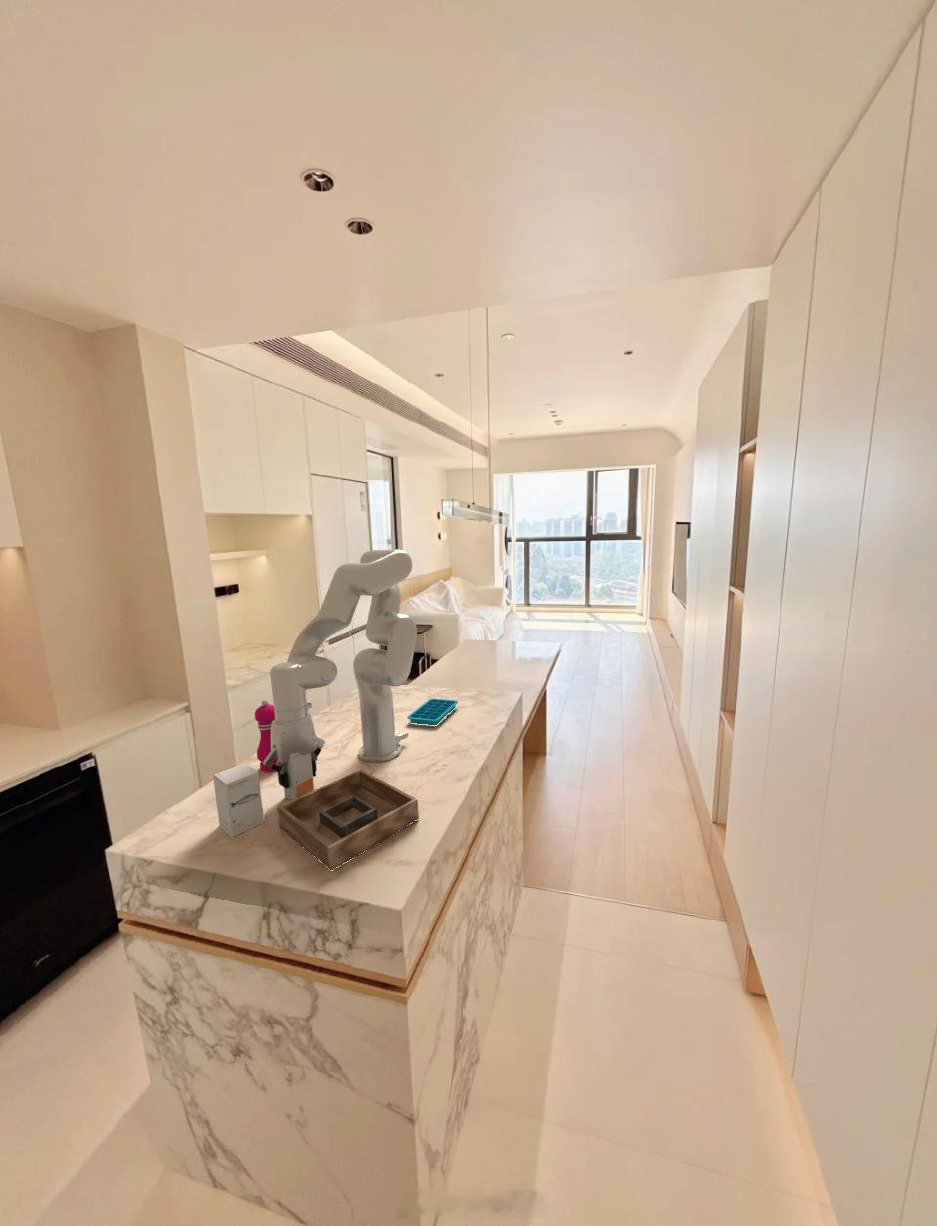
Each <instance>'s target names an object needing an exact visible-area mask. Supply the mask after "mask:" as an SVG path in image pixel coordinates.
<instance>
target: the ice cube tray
mask: <svg viewBox="0 0 937 1226" xmlns="http://www.w3.org/2000/svg"><path fill="white" fill-rule="evenodd" d="M458 703H459V701H458V700H455V699H446V698H445V699H443V698H429V699H428V700H427V701H425V702H424V703H422V705H420V706H419V707H418V708H416V709H415V710H414V711H412V712H411V713H410V714H409V715H408V716H406V718H407V719H408V720H410V722H409V723H410V724H411V723H417V724H428V725H437V724H438V723H439V722H440V721H441V720H442V719H443V718H444V717H445V716H446V715H447V714H448V713H450V712H451V711H452V710H453V709H454V708H455V707H457V704H458Z"/></svg>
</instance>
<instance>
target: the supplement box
mask: <svg viewBox="0 0 937 1226" xmlns="http://www.w3.org/2000/svg"><path fill="white" fill-rule="evenodd" d="M259 774H260V773H259V771H258V770H256V769H255V768H253V767H252V766H250V765H249V764H248V763H246V762H245V763H242V764H240V765H236V766H234V767H231V768H228V769H226V770H225V769H224V770H223V771H220V772H218V773H214V774H213V775H212V778H213V785H214V792H215V801H216V808H217V817H218V824H219V825H218V826H220V827H221V829H222V830H223V831H225V833H227V835H228V836H230V838H234V837H235V836H237V835H239V834H242V833H243V832H247V831H249V830H250V829H253V828H254V827H257V826H259V825H261V824H262V825H263V824H264V822H265V817H264V811H263V802H262V801H263V800H262V795H261V794H262V792H261V791H262V790H261V784H260V775H259ZM233 836H234V837H233Z"/></svg>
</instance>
